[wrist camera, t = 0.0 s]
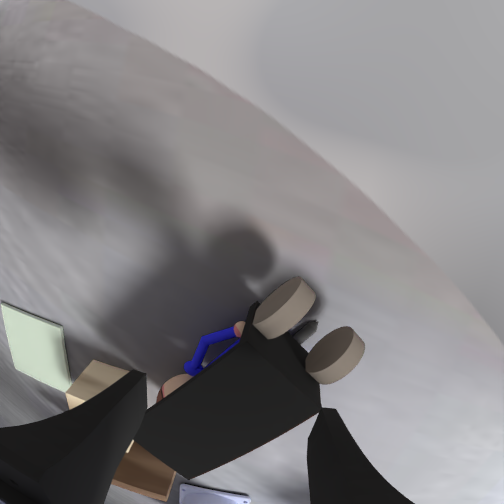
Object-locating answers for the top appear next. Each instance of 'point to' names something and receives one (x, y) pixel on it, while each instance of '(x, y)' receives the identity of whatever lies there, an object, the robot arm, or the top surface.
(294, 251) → the top surface
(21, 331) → the pad
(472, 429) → the top surface
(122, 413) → the robot arm
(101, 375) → the letter cube
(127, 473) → the brown piece
